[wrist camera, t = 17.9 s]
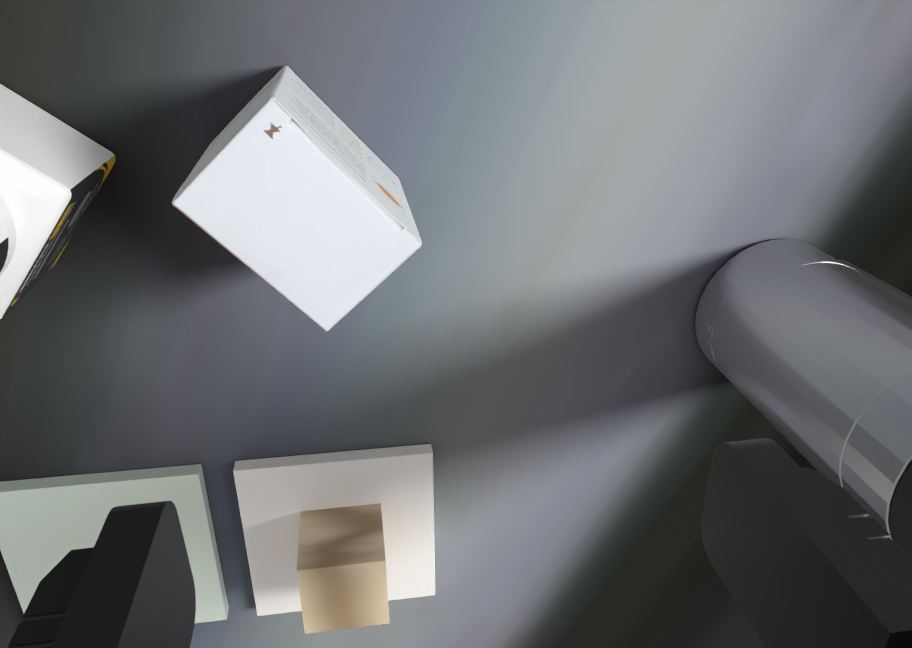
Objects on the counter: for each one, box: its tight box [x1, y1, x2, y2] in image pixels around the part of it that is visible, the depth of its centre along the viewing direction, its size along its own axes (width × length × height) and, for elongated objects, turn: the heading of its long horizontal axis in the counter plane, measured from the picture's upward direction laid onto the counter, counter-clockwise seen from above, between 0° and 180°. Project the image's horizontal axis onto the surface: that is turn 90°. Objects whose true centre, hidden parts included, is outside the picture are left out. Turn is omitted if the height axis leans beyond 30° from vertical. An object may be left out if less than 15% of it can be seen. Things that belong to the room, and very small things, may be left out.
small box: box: [172, 65, 422, 332], centre depth 31 cm, size 8×6×10 cm
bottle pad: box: [0, 464, 229, 623], centre depth 44 cm, size 12×12×1 cm
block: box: [297, 503, 389, 634], centre depth 43 cm, size 5×5×5 cm
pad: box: [233, 444, 435, 616], centre depth 46 cm, size 12×12×1 cm
